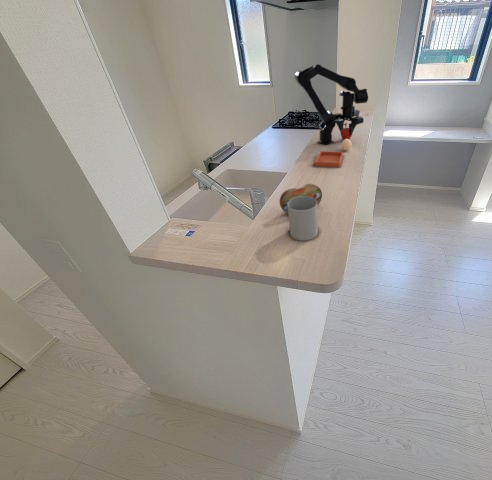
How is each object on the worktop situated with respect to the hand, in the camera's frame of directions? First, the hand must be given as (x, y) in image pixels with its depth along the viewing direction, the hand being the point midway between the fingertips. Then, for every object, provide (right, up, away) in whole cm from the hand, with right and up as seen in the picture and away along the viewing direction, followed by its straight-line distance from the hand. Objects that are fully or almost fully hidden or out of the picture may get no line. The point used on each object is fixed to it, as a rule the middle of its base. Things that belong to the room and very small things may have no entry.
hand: (346, 134), depth 152 cm
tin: (-25, -50, -61) cm, 82 cm away
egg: (-2, -14, -13) cm, 19 cm away
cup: (-24, -58, -72) cm, 96 cm away
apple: (0, -3, +2) cm, 3 cm away
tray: (-12, -22, -24) cm, 35 cm away
